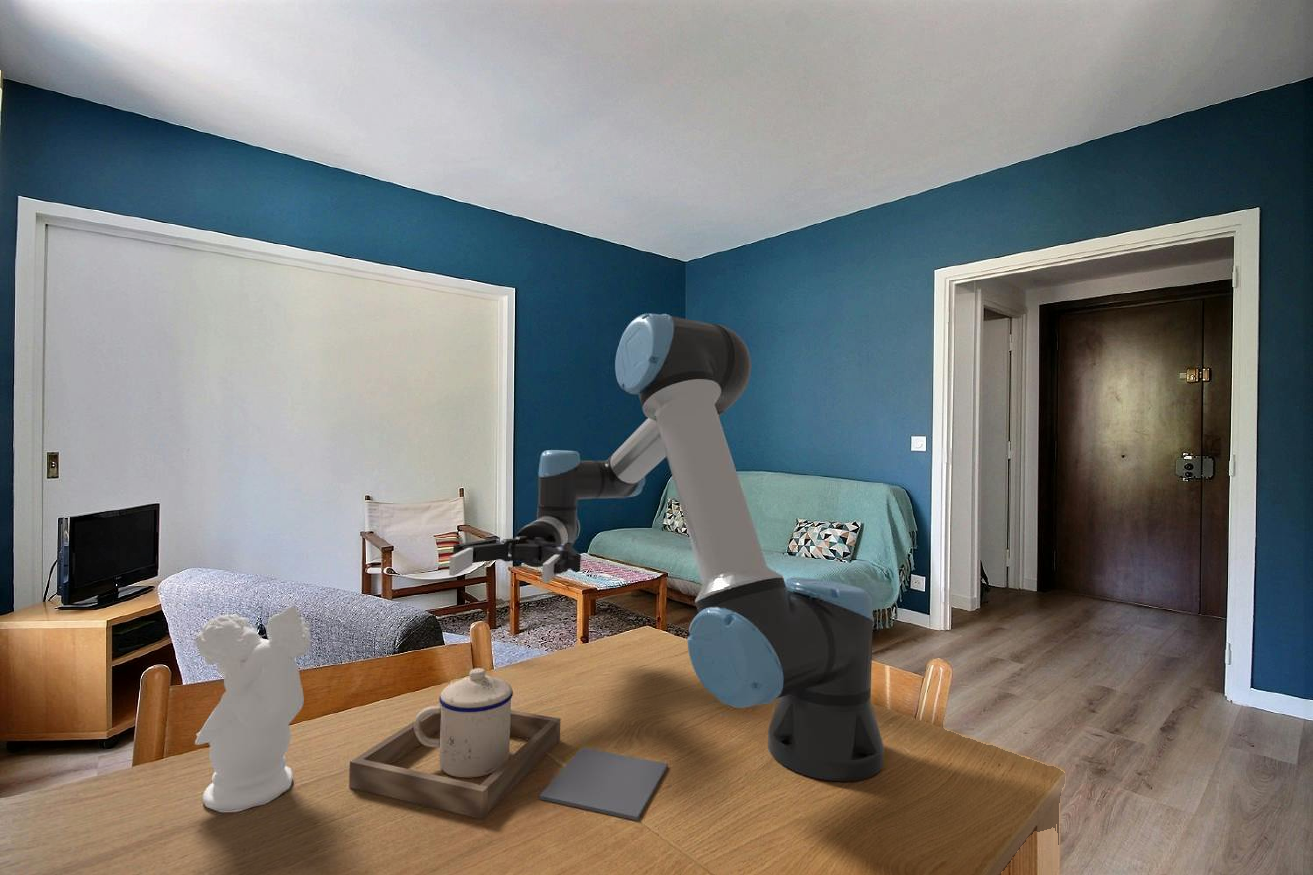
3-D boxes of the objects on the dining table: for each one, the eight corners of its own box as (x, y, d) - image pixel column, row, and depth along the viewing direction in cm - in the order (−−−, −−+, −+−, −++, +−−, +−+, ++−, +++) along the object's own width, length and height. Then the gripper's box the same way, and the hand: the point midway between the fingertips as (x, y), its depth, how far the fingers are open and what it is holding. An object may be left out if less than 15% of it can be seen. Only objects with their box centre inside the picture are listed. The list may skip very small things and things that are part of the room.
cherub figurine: (174, 805, 68) (178, 606, 69) (267, 751, 80) (270, 582, 81) (266, 821, 66) (270, 614, 66) (348, 763, 78) (351, 588, 78)
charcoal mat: (667, 766, 79) (667, 763, 79) (637, 820, 68) (637, 816, 68) (581, 750, 83) (582, 747, 83) (539, 798, 71) (539, 795, 71)
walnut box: (559, 740, 85) (560, 718, 85) (482, 818, 67) (482, 791, 67) (448, 719, 91) (449, 699, 91) (349, 787, 73) (349, 761, 73)
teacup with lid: (510, 741, 85) (513, 656, 85) (511, 776, 76) (514, 681, 76) (418, 748, 82) (420, 661, 82) (407, 786, 73) (410, 687, 73)
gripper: (609, 568, 107) (582, 603, 86) (472, 557, 110) (413, 588, 89) (612, 525, 107) (585, 550, 86) (474, 515, 110) (415, 537, 89)
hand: (497, 569), depth 87 cm, fingers open, 13 cm apart
